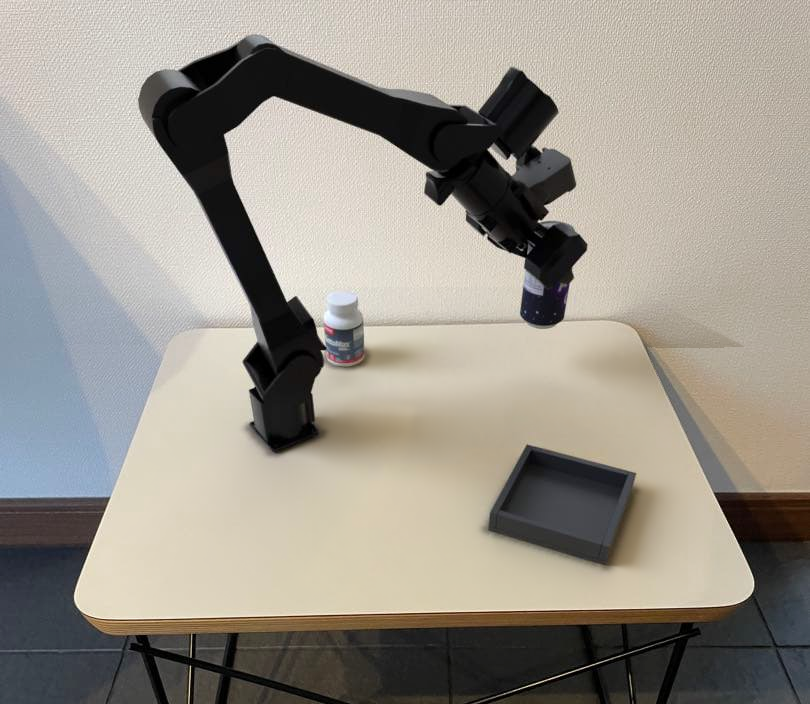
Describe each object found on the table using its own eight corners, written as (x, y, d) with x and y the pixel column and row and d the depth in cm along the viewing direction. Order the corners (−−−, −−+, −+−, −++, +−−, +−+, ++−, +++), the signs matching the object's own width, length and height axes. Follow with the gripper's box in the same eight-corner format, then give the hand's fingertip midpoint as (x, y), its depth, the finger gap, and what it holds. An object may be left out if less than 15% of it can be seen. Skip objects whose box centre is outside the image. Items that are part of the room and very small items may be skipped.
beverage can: (557, 335, 97) (572, 242, 88) (513, 326, 98) (524, 234, 90) (567, 315, 100) (583, 223, 92) (525, 306, 102) (537, 216, 93)
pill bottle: (319, 361, 105) (313, 301, 98) (339, 343, 108) (334, 284, 102) (352, 371, 103) (349, 310, 97) (371, 353, 106) (369, 293, 100)
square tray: (487, 530, 81) (489, 512, 79) (524, 461, 89) (526, 443, 88) (604, 565, 78) (609, 547, 76) (631, 490, 86) (636, 472, 84)
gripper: (587, 157, 76) (652, 248, 87) (496, 105, 88) (563, 190, 99) (510, 249, 79) (582, 324, 90) (432, 186, 91) (503, 260, 102)
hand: (557, 270), depth 95 cm, fingers closed on beverage can, 5 cm apart
